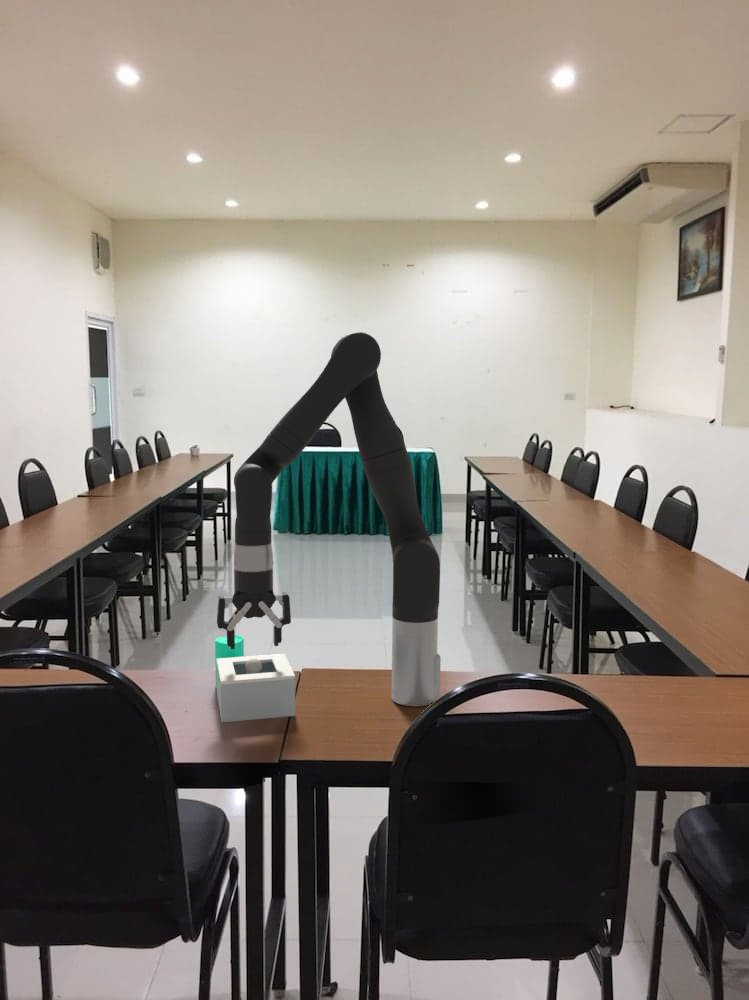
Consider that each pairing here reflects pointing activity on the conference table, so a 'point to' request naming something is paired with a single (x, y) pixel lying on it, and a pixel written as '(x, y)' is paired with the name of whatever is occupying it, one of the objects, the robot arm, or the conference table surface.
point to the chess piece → (253, 666)
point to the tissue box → (255, 688)
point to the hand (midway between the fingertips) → (254, 646)
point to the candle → (228, 649)
